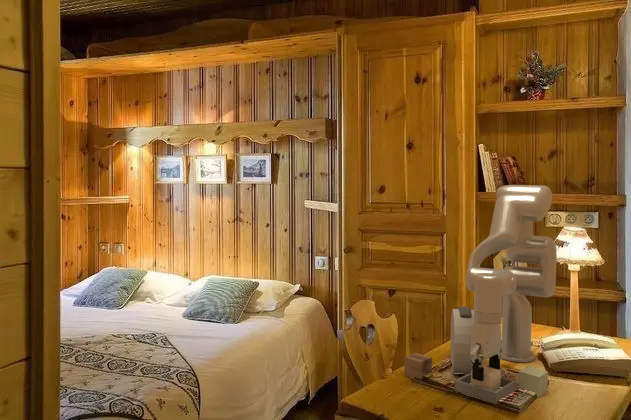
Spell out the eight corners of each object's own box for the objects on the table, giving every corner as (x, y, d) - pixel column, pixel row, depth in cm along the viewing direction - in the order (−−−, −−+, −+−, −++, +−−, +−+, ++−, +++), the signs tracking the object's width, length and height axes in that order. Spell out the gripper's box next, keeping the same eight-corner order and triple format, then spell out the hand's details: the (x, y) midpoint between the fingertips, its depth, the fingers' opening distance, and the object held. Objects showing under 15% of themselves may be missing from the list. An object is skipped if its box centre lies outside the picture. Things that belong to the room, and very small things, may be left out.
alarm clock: (478, 380, 161) (480, 316, 160) (453, 378, 163) (454, 315, 162) (472, 358, 182) (473, 301, 181) (450, 356, 184) (451, 300, 183)
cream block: (480, 385, 156) (481, 365, 156) (500, 390, 152) (500, 370, 152) (470, 390, 152) (471, 370, 152) (490, 396, 148) (490, 375, 148)
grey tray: (476, 381, 161) (476, 369, 161) (516, 393, 152) (516, 381, 152) (454, 392, 152) (454, 380, 152) (495, 405, 143) (496, 393, 143)
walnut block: (415, 371, 169) (415, 352, 169) (431, 376, 165) (432, 357, 165) (404, 376, 165) (404, 357, 165) (420, 381, 161) (421, 362, 160)
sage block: (526, 386, 158) (527, 366, 157) (547, 392, 153) (548, 371, 153) (517, 391, 154) (518, 371, 153) (538, 397, 149) (539, 377, 149)
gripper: (489, 309, 160) (488, 364, 161) (460, 320, 148) (458, 379, 149) (513, 313, 154) (512, 371, 156) (485, 325, 142) (483, 387, 143)
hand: (486, 375), depth 152 cm, fingers open, 9 cm apart
